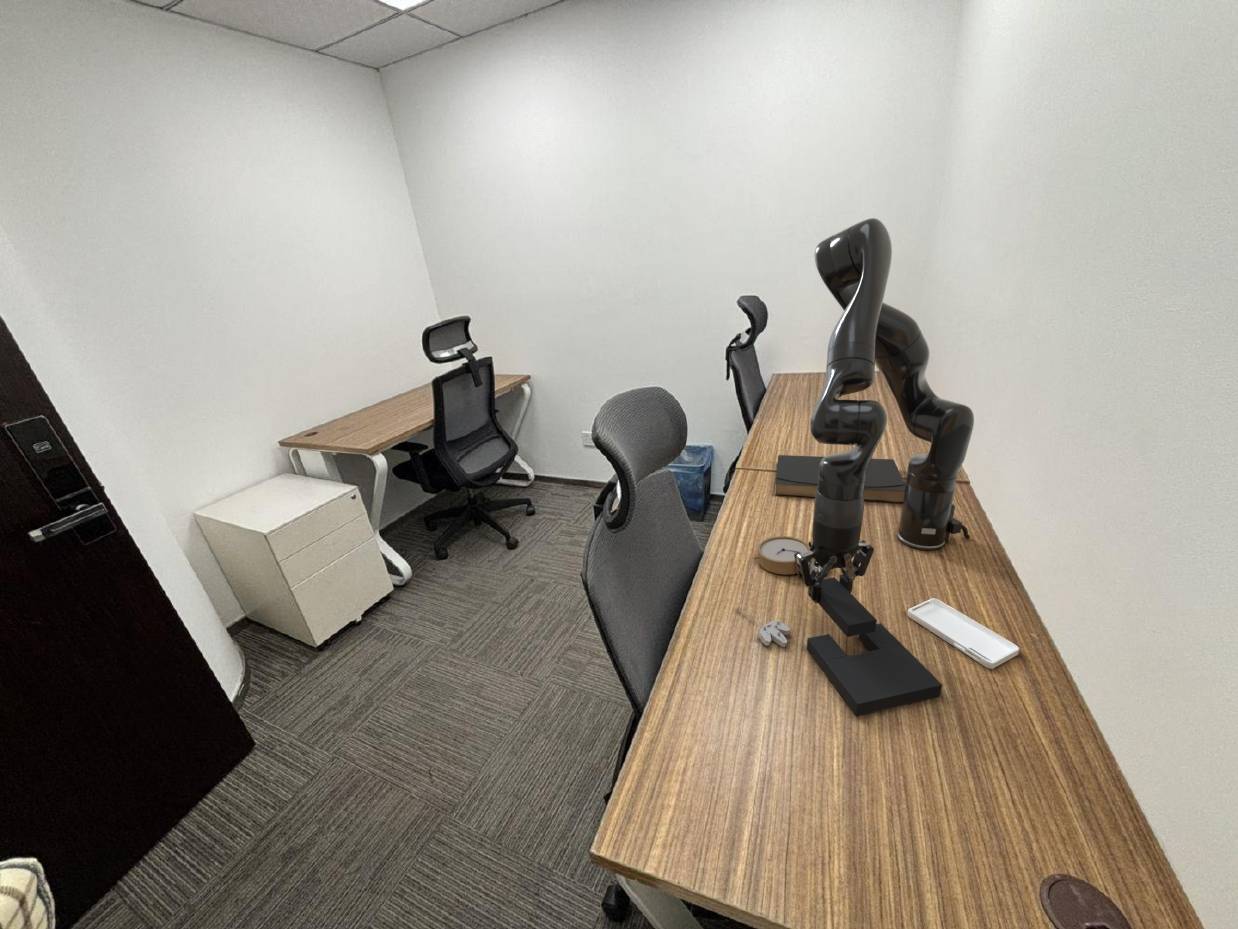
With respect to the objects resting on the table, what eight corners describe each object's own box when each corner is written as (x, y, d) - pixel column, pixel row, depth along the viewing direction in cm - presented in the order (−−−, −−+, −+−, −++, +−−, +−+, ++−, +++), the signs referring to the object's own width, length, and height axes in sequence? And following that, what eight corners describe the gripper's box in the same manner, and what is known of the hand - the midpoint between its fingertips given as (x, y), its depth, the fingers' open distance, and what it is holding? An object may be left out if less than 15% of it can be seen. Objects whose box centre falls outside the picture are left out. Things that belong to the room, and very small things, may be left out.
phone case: (1019, 654, 80) (933, 602, 93) (1021, 647, 79) (934, 596, 92) (990, 670, 78) (905, 615, 90) (991, 664, 77) (906, 609, 90)
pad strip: (808, 592, 90) (809, 581, 89) (833, 588, 91) (834, 577, 90) (847, 637, 79) (848, 625, 78) (875, 631, 80) (877, 619, 79)
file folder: (775, 482, 137) (778, 452, 158) (774, 495, 138) (778, 463, 159) (908, 490, 126) (892, 456, 147) (906, 504, 128) (891, 468, 148)
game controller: (781, 654, 85) (781, 642, 84) (722, 628, 92) (722, 617, 91) (794, 635, 88) (795, 624, 87) (737, 611, 96) (737, 600, 95)
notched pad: (879, 634, 87) (880, 623, 86) (939, 696, 74) (942, 684, 73) (806, 649, 85) (807, 638, 84) (855, 716, 72) (857, 704, 71)
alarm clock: (765, 532, 116) (832, 537, 107) (768, 550, 117) (834, 556, 108) (748, 556, 107) (820, 563, 98) (752, 576, 109) (822, 584, 100)
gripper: (862, 499, 86) (853, 579, 92) (786, 511, 84) (782, 592, 91) (891, 519, 79) (878, 603, 85) (809, 533, 77) (802, 618, 84)
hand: (829, 597), depth 88 cm, fingers closed on pad strip, 5 cm apart
